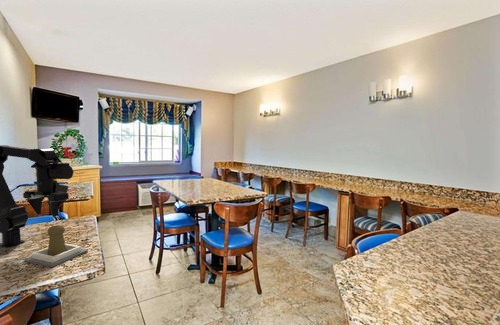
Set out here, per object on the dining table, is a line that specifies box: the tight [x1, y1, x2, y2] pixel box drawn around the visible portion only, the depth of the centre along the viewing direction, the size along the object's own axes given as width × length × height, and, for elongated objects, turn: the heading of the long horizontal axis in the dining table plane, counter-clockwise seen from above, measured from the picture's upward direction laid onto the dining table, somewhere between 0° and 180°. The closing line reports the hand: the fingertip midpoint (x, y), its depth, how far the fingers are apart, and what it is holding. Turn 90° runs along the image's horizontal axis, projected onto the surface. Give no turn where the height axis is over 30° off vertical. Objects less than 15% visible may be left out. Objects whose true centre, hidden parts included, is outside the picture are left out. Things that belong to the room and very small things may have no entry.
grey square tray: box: [23, 242, 88, 268], centre depth 99 cm, size 14×14×3 cm
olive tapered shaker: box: [47, 224, 66, 256], centre depth 99 cm, size 6×6×11 cm
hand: (46, 215), depth 108 cm, fingers open, 9 cm apart
